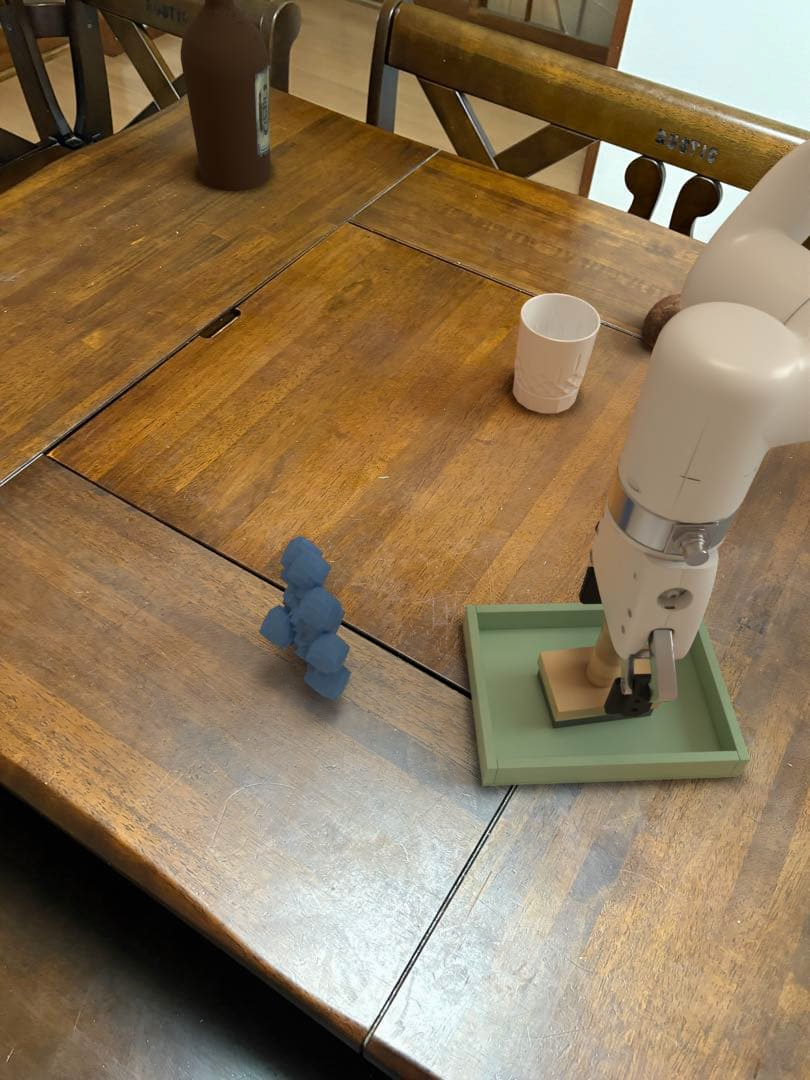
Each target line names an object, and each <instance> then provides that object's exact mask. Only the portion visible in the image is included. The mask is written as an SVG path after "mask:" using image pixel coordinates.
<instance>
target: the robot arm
mask: <svg viewBox="0 0 810 1080" xmlns="http://www.w3.org/2000/svg"><path fill="white" fill-rule="evenodd" d="M809 237H810V138H808V139H806V140H805V141H803V142H802V143H800V144H799V145H797V146H796V147H794V148H793V149H791V151H789V152H788V153H787V154H786V155H784V156H783V157H782V158H780V160H778V161H777V162H776V163H775V164H774V165H773V166H772V167H771V168H770V169H769V170H768V171H767V172H766V174H763V176H762V178H761V179H760V180H759V181H758V182H757V183H756V184H755V185H754V186H753V188H751V190H750V191H749V192H748V194H747V195H746V196H745V197H744V198H743V199H742V200H741V202H740V203H739V204H738V205H737V206H736V207H735V209H734V210H733V211H732V212H731V213H730V214H729V215H728V217H727V218H726V219H725V220H724V221H723V223H721V225H720V226H719V227H718V229H717V230H716V231H715V232H714V233H713V234H712V236H711V238H709V240H708V241H707V243H706V244H705V246H704V247H703V249H702V250H701V251H700V252H699V254H698V255H697V257H696V259H695V260H694V261H693V263H692V265H691V267H690V268H689V270H688V272H687V275H686V277H685V279H684V282H683V285H682V288H681V293H680V294H681V299H680V309H681V311H680V312H679V313H677V314H676V315H675V316H673V317H672V318H671V319H670V320H669V321H668V322H667V324H666V325H665V326H664V327H663V329H662V330H661V332H660V334H659V336H658V339H657V341H656V344H655V346H654V348H653V349H652V352H651V355H650V359H649V362H648V364H647V368H646V371H645V375H644V378H643V381H642V384H641V388H640V390H639V394H638V396H637V400H636V404H635V405H634V410H633V413H632V416H631V419H630V423H629V426H628V429H627V433H626V435H625V438H624V442H623V445H622V448H621V452H620V454H619V458H618V460H617V464H616V467H615V470H614V473H613V477H612V480H611V483H610V486H609V489H608V492H607V493H604V494H602V498H601V499H602V500H601V507H600V508H601V510H600V519H599V520H598V521H597V524H595V527H594V531H595V534H594V535H595V536H594V539H593V543H592V548H591V549H590V551H589V563H590V565H591V566H587V567H586V571H585V575H584V577H583V581H582V584H581V587H580V590H579V593H578V599H579V603H582V604H602V605H603V609H604V613H605V617H606V621H607V625H608V629H609V632H610V636H611V640H612V643H613V646H614V649H615V651H616V653H617V654H618V655H619V656H620V657H621V658H622V659H621V677H618V678H616V679H615V680H614V682H613V685H612V687H611V690H610V692H609V694H608V697H607V699H606V702H605V704H604V710H605V713H606V714H621V715H622V716H624V717H636V716H640V715H642V714H643V713H646V712H648V711H649V710H650V708H651V706H652V704H653V702H667V701H674V700H677V698H678V688H677V678H676V668H675V659H682V658H683V657H684V656H685V655H686V654H687V652H688V651H689V649H690V647H691V645H692V643H693V640H694V638H695V636H696V634H697V631H698V629H699V626H700V624H701V621H702V619H704V616H705V613H706V611H707V608H708V605H709V602H710V600H711V599H710V598H711V596H712V593H713V588H714V585H715V582H716V581H715V580H716V576H717V571H718V567H719V561H720V556H719V549H718V548H720V546H721V545H722V544H723V542H724V541H725V539H726V537H727V535H728V532H729V531H730V529H731V527H732V525H733V522H734V521H735V519H736V516H737V515H738V512H739V510H740V508H741V506H742V504H743V502H744V501H745V498H746V496H747V493H748V491H749V490H750V488H751V486H752V483H753V481H754V479H755V477H756V475H757V473H758V471H759V469H760V467H761V465H762V463H763V461H764V458H765V456H766V455H767V453H768V452H769V451H770V450H771V449H773V448H777V447H783V446H788V445H794V444H801V443H807V442H810V250H809V249H808V248H806V247H805V246H803V245H802V244H803V243H804V242H805V241H806V240H807V239H808V238H809ZM647 640H648V645H646V642H647ZM635 659H650V668H651V674H634V664H635Z"/></svg>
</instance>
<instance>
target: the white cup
mask: <svg viewBox="0 0 810 1080" xmlns="http://www.w3.org/2000/svg"><path fill="white" fill-rule="evenodd" d="M600 329H601V317H600V314H599V312H598V311H597V310H596V309H595V307H593V306H592V305H591V304H590V303H589V302H587V301H586V300H584V299H581V298H579V297H578V296H573V295H571V294H565V293H555V292H550V293H542V294H538V295H535V296H533V297H531V298H529V299H528V300H527V301H525V302H524V303H523V305H522V307H521V308H520V313H519V322H518V331H517V339H516V348H515V354H514V355H515V356H514V367H513V369H514V378H513V386H512V394H513V396H514V397H515V399H516V401H517V403H519V404H520V405H522V406H523V407H524V408H526V409H527V410H530V411H532V412H536V413H540V414H558V413H561V412H565V411H567V410H569V409H570V408H571V407H572V406H573V405H574V403H575V402H576V400H577V396H578V393H579V390H580V386H581V384H582V382H583V380H584V377H585V374H586V370H587V368H588V365H589V363H590V360H591V356H592V353H593V350H594V346H595V343H596V340H597V337H598V334H599V331H600Z"/></svg>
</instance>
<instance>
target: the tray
mask: <svg viewBox="0 0 810 1080" xmlns="http://www.w3.org/2000/svg"><path fill="white" fill-rule="evenodd" d="M604 620H605V613H604V609H603V605H602V604H582V603H581V602H550V603H546V602H544V603H503V604H502V603H498V604H496V603H494V604H493V603H492V604H466V605H465V609H464V615H463V621H462V630H463V631H462V632H463V640H464V647H465V656H466V665H467V672H468V681H469V688H470V696H471V697H470V698H471V704H472V712H473V721H474V728H475V737H476V745H477V753H478V761H479V769H480V778H481V786H482V787H496V786H522V785H524V786H525V785H526V786H527V785H548V784H549V785H550V784H551V785H553V784H578V783H579V784H581V783H605V782H606V783H607V782H634V781H635V782H636V781H637V782H638V781H661V780H662V781H663V780H689V779H717V778H738V777H739V776H740V775H741V773H742V771H743V770H744V769H745V768H746V766H747V765H748V763H749V762H750V761H751V758H750V755H749V752H748V749H747V745H746V742H745V740H744V737H743V733H742V731H741V728H740V725H739V721H738V719H737V716H736V712H735V709H734V707H733V704H732V701H731V698H730V695H729V691H728V689H727V685H726V683H725V679H724V676H723V673H722V671H721V668H720V665H719V662H718V658H717V655H716V652H715V649H714V647H713V643H712V640H711V637H710V634H709V631H708V628H707V625H706V622H705V619H704V618H703V619H702V621H701V624H700V626H699V629H698V631H697V634H696V636H695V638H694V640H693V643H692V645H691V647H690V649H689V651H688V652H687V654H686V655H685V656H684V657H683V658H682V659H675V668H676V678H677V688H678V698H677V700H674V701H667V702H662V703H661V705H660V707H659V708H655V709H654V710H653V712H652V714H651V716H645V717H637V718H630V719H622V720H615V721H607V722H600V723H592V724H585V725H577V726H569V727H562V728H553V725H552V722H551V718H550V715H549V712H548V709H547V705H546V702H545V699H544V695H543V692H542V689H541V686H540V682H539V679H538V676H537V673H538V670H539V667H538V664H537V661H538V658H539V654H540V652H547V651H556V650H564V649H572V648H581V647H589V646H595V644H596V641H597V639H598V636H599V633H600V631H601V628H602V625H603V623H604ZM646 645H648V640H647V642H646ZM648 660H649V663H650V659H648Z"/></svg>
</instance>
